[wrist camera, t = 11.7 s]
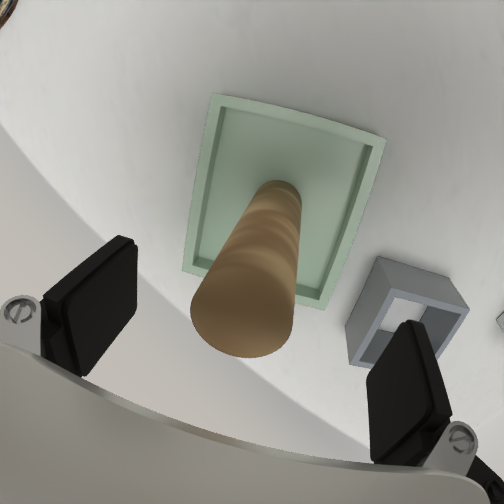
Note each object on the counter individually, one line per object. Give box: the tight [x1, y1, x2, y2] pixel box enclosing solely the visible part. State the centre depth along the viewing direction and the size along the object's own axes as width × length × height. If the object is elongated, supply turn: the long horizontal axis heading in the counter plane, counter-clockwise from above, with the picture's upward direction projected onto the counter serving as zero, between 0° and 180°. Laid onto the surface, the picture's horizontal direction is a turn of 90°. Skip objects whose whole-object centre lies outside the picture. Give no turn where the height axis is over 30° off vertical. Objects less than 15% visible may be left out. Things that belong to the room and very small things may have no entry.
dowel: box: [190, 180, 302, 358], centre depth 17 cm, size 4×4×14 cm
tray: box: [182, 93, 387, 311], centre depth 23 cm, size 12×14×2 cm
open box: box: [345, 256, 470, 369], centre depth 24 cm, size 8×8×5 cm
